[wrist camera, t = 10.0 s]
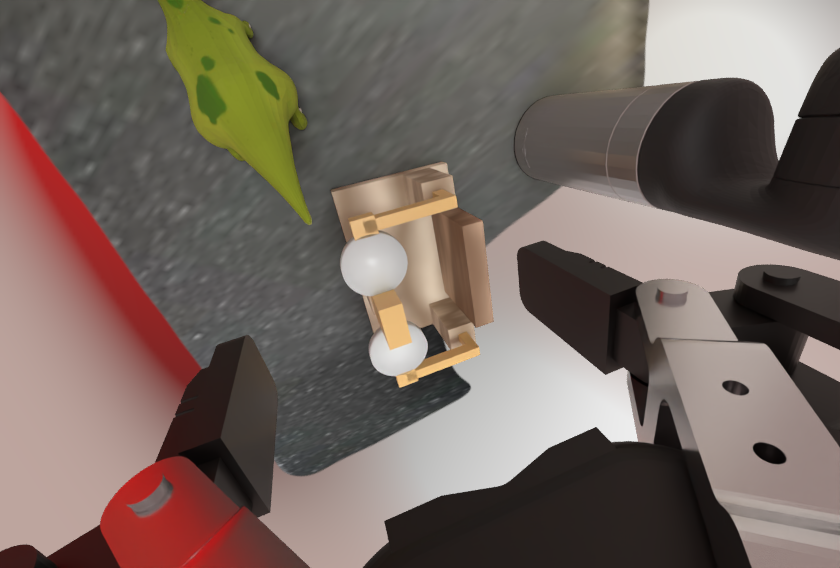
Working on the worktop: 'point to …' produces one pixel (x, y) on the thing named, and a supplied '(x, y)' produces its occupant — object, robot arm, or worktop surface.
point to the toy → (236, 93)
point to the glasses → (378, 277)
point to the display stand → (428, 251)
